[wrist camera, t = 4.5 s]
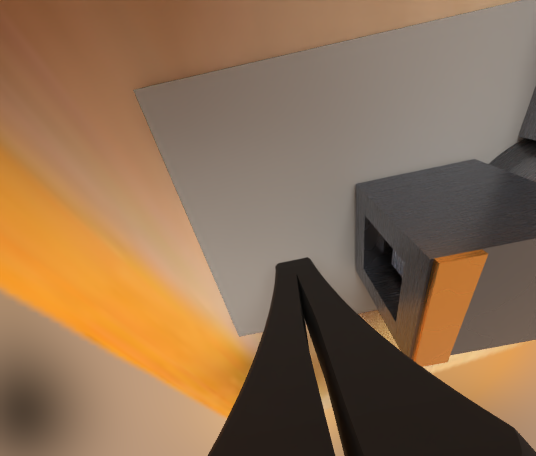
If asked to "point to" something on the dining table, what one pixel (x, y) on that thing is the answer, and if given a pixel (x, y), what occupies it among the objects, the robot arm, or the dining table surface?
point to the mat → (333, 141)
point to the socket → (450, 257)
